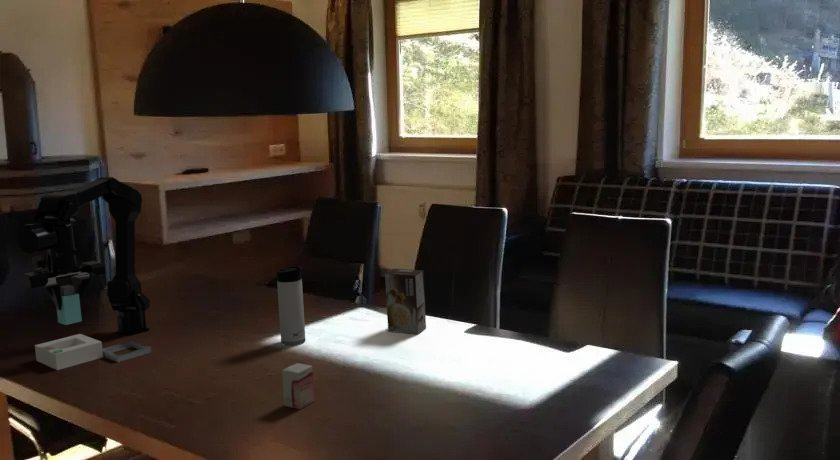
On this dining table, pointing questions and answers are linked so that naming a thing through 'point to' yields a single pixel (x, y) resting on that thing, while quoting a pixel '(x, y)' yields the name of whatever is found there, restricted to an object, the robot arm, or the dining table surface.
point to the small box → (298, 385)
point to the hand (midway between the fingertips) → (68, 307)
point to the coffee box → (405, 301)
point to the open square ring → (118, 358)
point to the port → (68, 351)
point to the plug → (69, 306)
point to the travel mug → (291, 306)
